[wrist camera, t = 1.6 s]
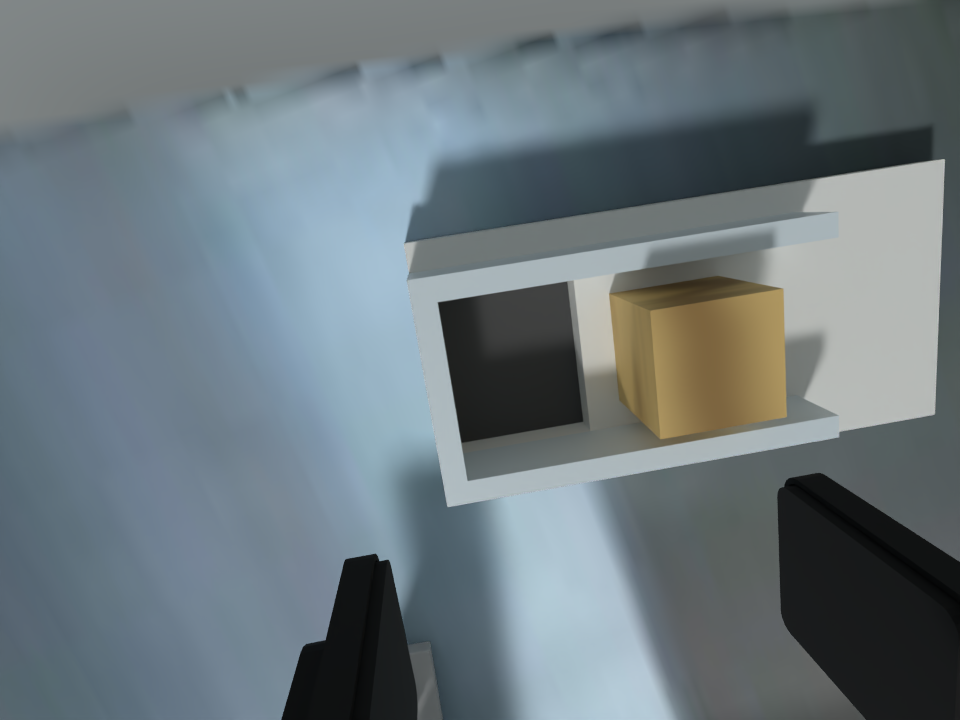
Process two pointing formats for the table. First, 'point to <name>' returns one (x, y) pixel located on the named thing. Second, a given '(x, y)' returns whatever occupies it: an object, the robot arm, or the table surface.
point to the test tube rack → (425, 681)
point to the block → (700, 354)
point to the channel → (664, 260)
